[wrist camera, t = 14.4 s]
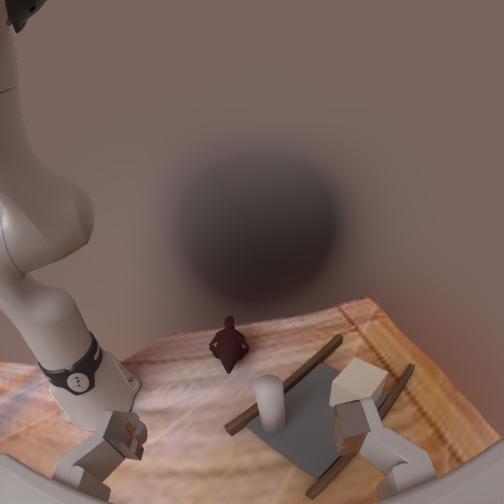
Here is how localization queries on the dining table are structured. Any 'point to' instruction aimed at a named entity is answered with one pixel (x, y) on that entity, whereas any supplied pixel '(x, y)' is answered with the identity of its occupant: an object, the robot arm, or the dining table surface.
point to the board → (300, 419)
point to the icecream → (229, 345)
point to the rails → (295, 378)
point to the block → (357, 383)
